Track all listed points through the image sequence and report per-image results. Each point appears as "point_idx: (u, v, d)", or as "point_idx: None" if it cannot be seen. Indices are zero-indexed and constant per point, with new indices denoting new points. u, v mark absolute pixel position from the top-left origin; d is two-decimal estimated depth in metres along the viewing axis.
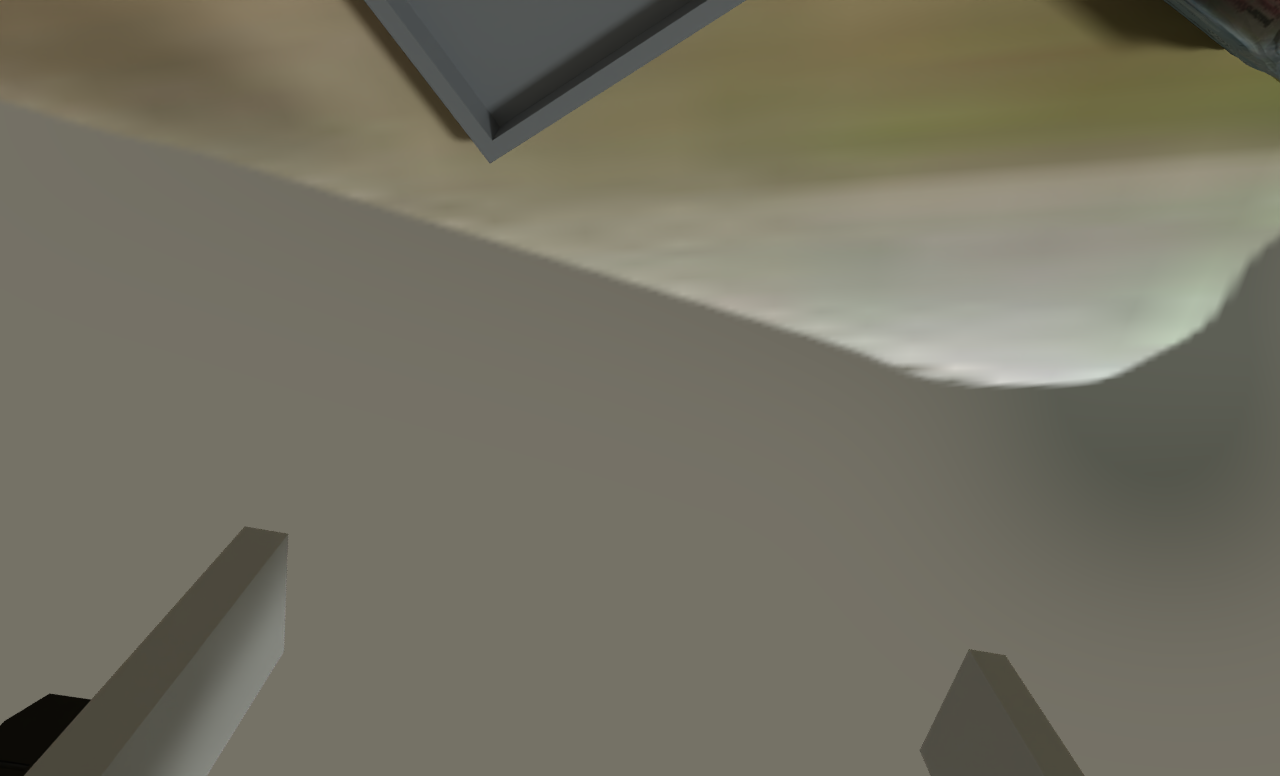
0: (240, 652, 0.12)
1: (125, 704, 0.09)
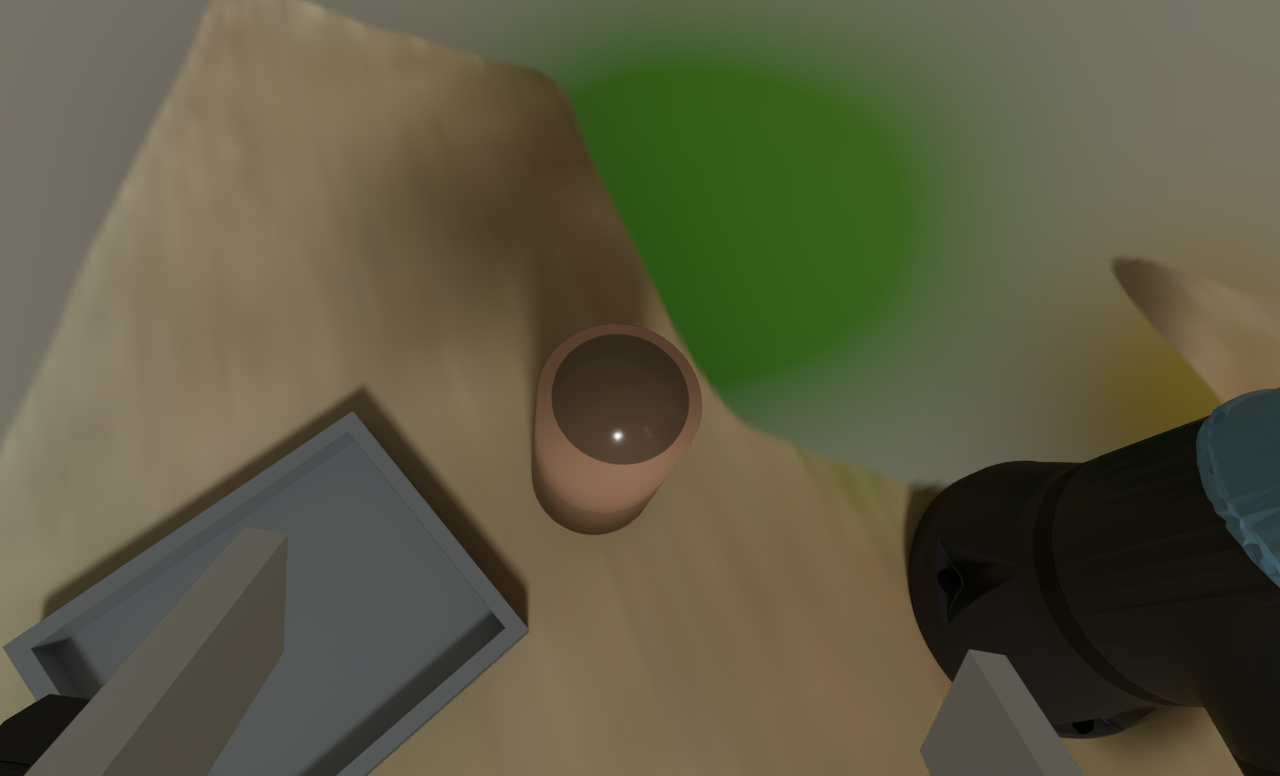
0: (240, 652, 0.12)
1: (125, 704, 0.09)
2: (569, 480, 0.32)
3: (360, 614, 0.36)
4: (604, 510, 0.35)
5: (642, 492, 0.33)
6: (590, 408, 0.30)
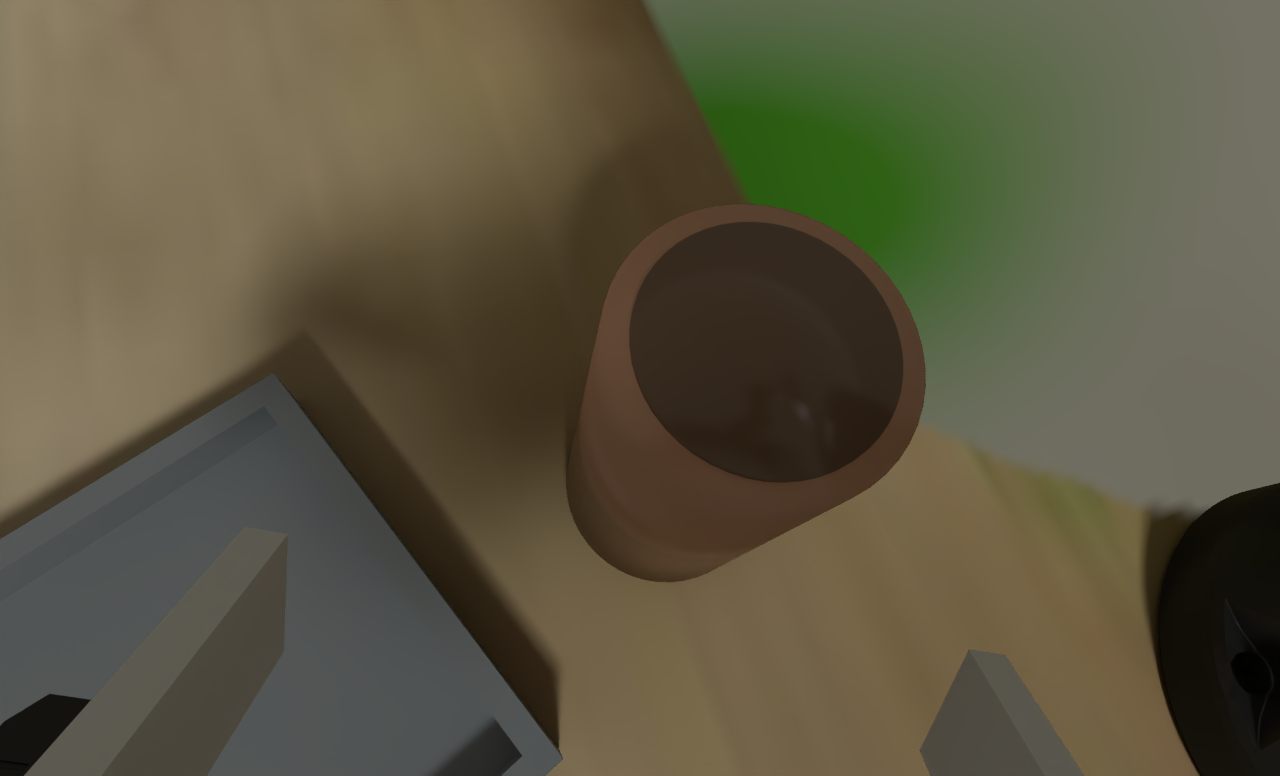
0: (240, 652, 0.12)
1: (125, 704, 0.09)
2: (654, 507, 0.16)
3: (273, 720, 0.21)
4: (704, 556, 0.19)
5: (788, 530, 0.17)
6: (709, 364, 0.15)
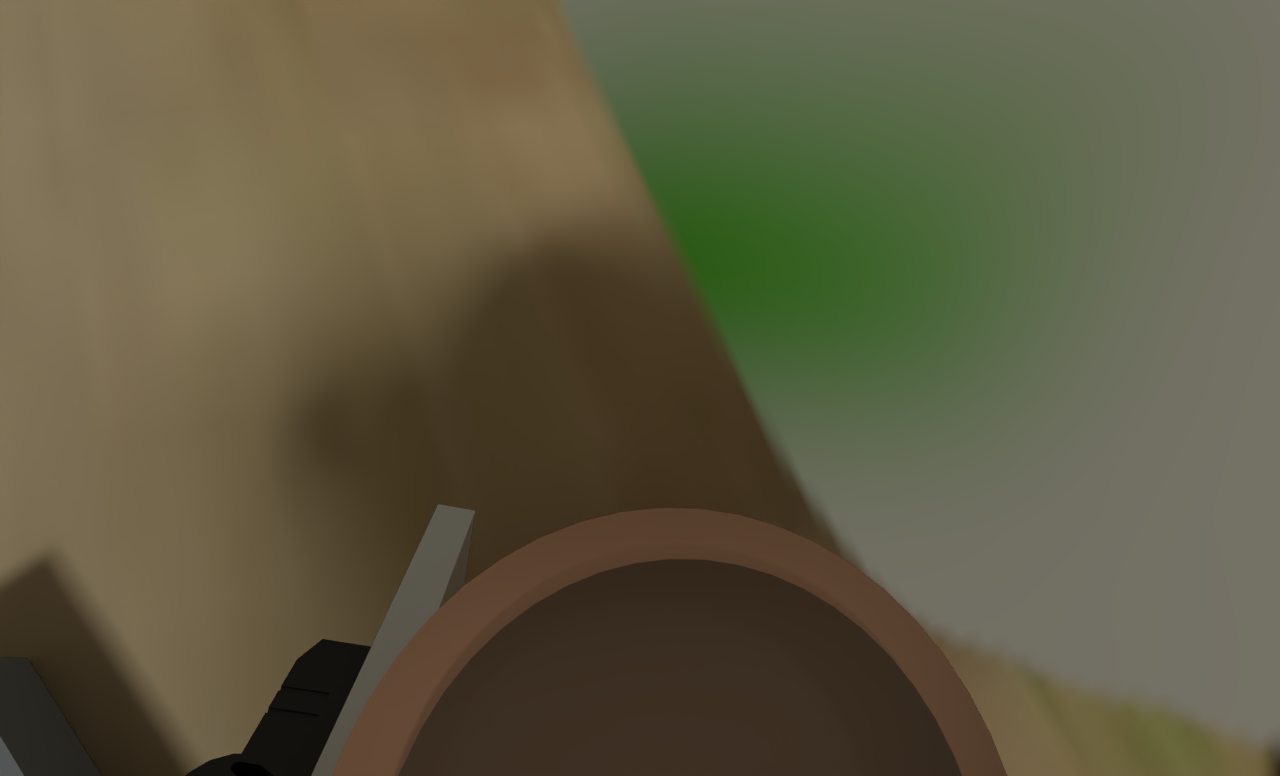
0: None
1: (401, 645, 0.11)
2: None
3: None
4: None
5: None
6: None
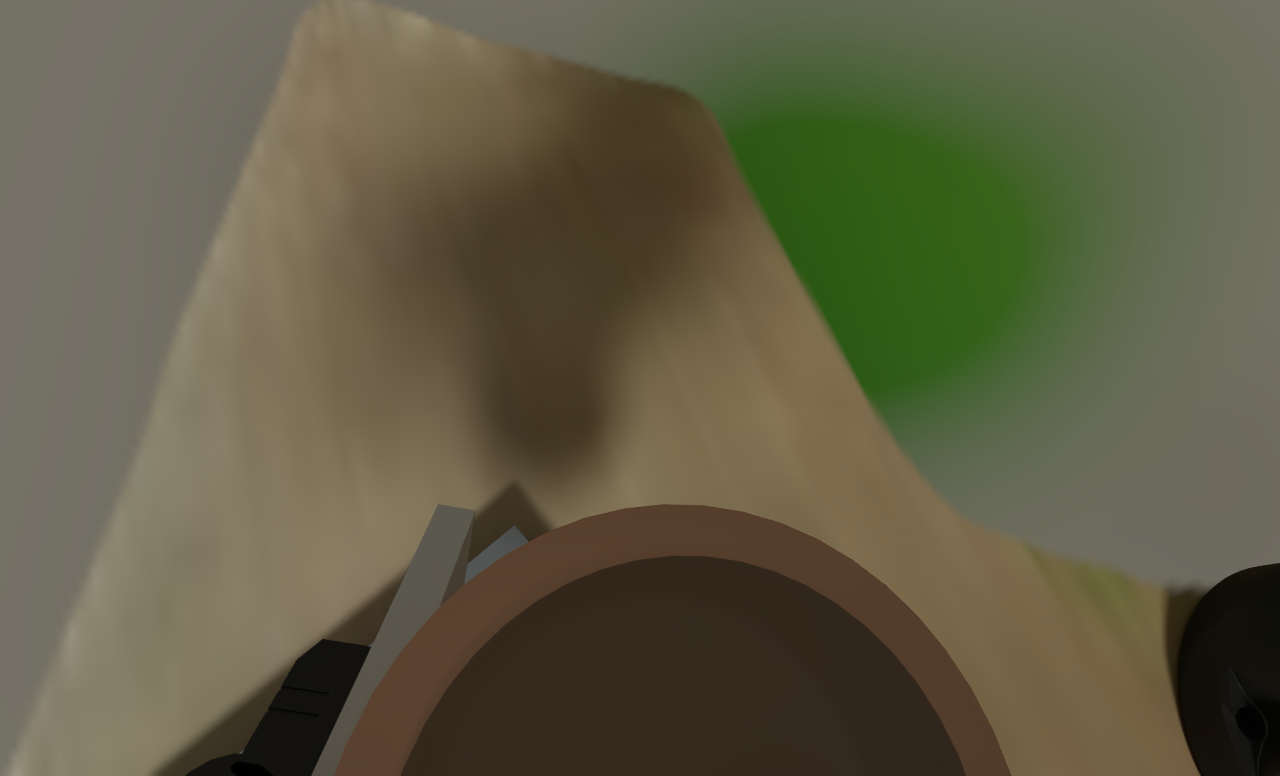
0: None
1: (401, 645, 0.11)
2: None
3: None
4: None
5: None
6: None
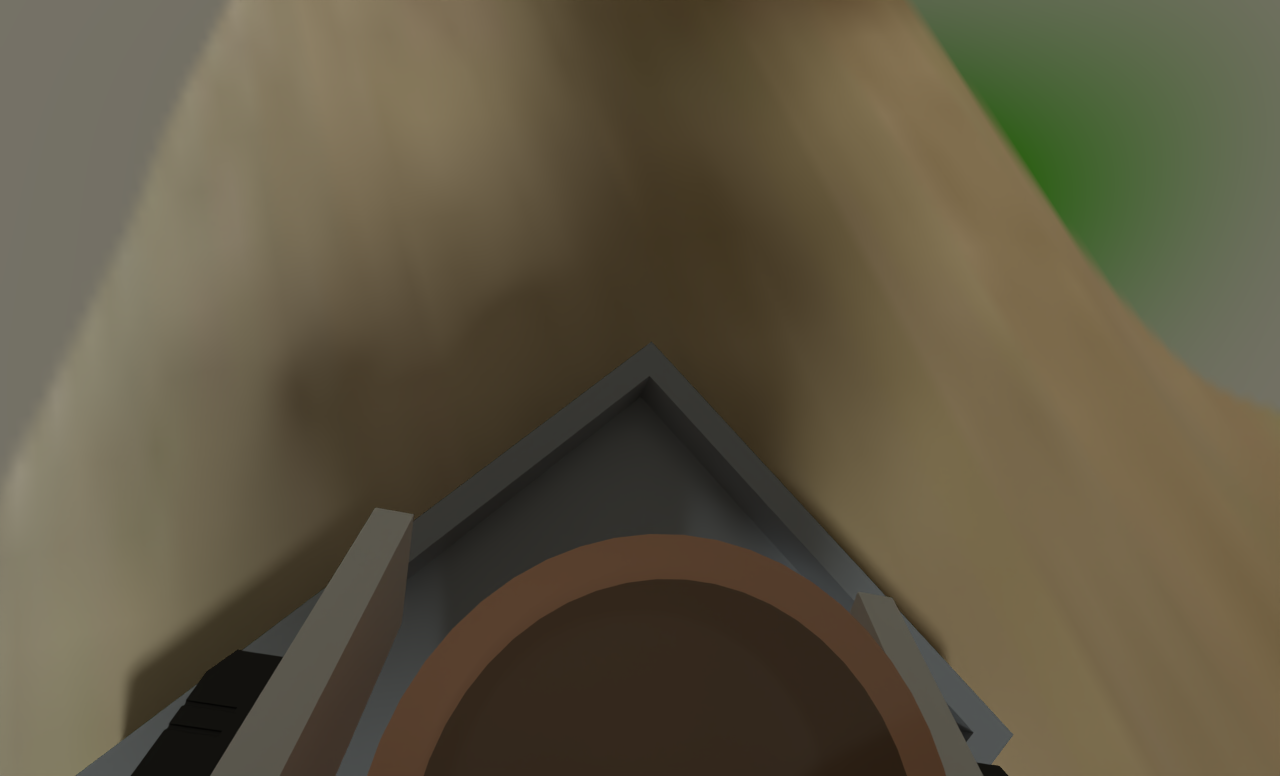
0: (381, 619, 0.13)
1: (314, 656, 0.11)
2: None
3: None
4: None
5: None
6: None
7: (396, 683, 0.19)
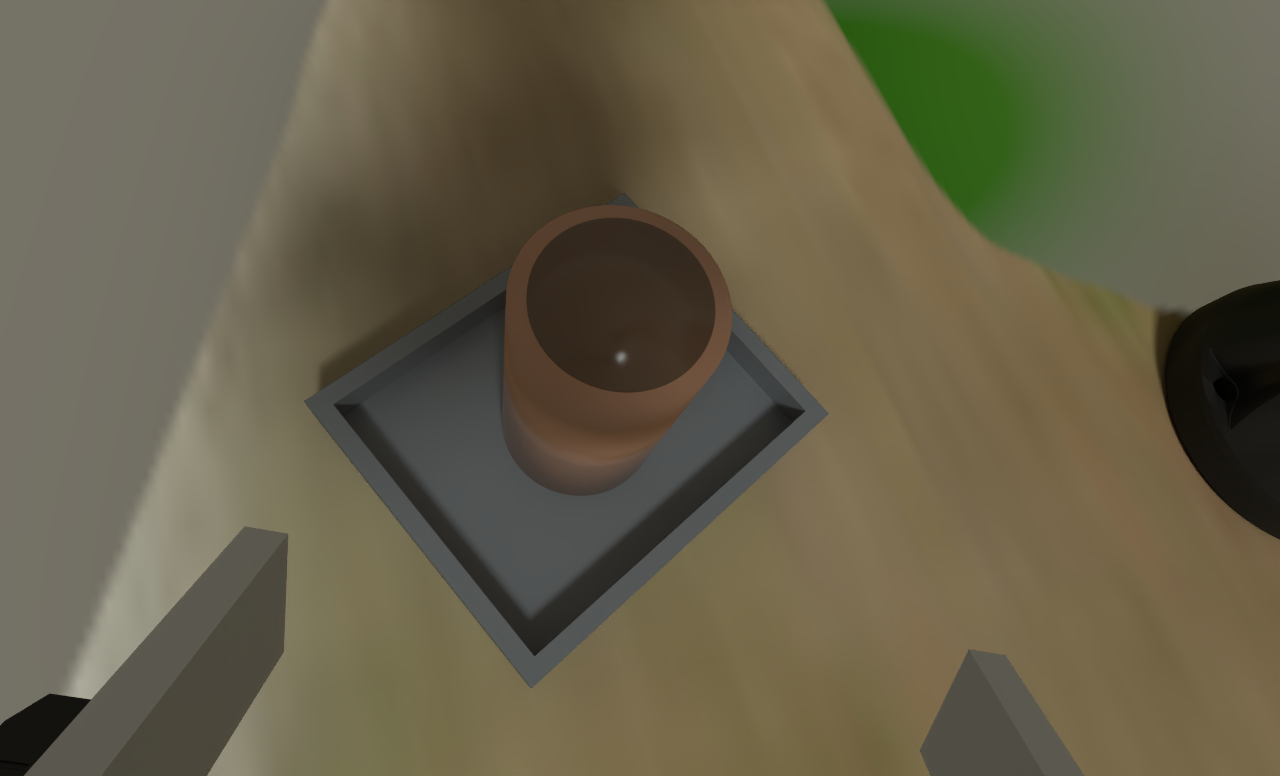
0: (240, 652, 0.12)
1: (125, 704, 0.09)
2: (549, 417, 0.23)
3: None
4: (595, 461, 0.26)
5: (647, 436, 0.24)
6: (580, 314, 0.22)
7: (473, 378, 0.33)
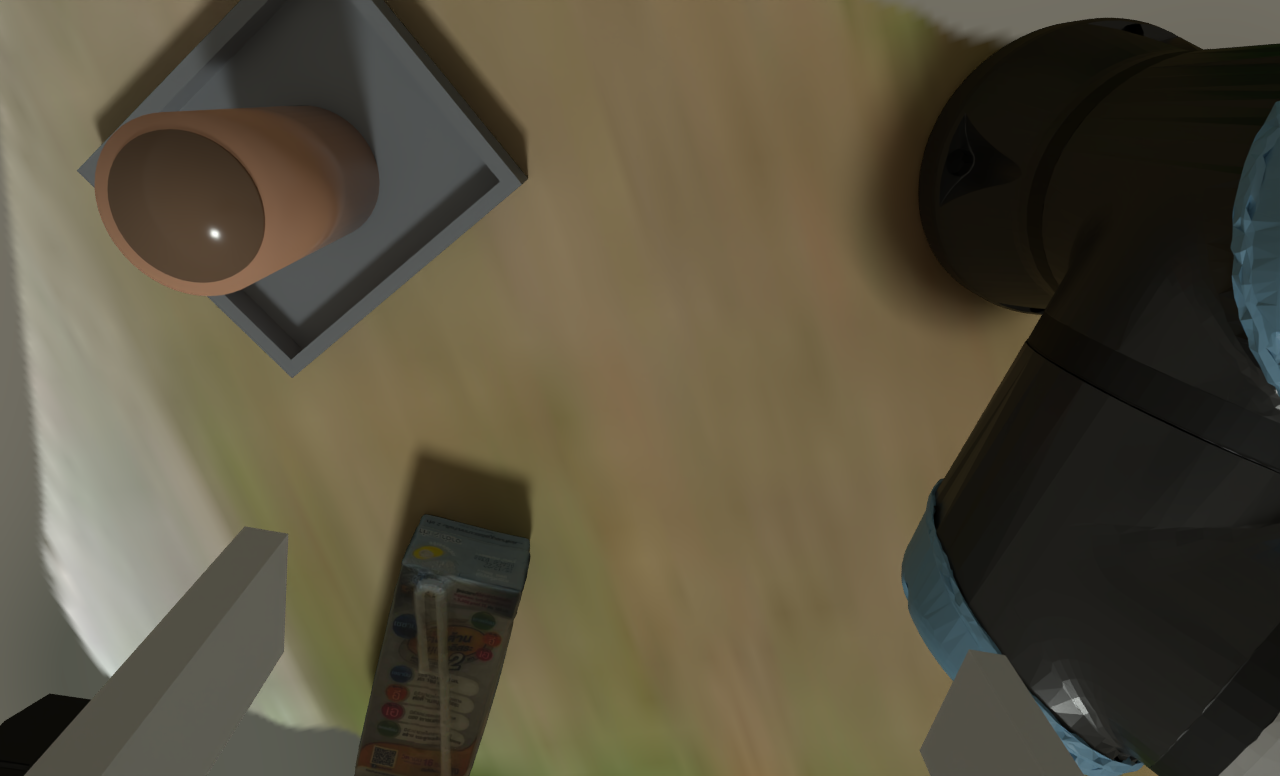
0: (240, 652, 0.12)
1: (125, 704, 0.09)
2: None
3: None
4: None
5: None
6: (154, 222, 0.28)
7: None
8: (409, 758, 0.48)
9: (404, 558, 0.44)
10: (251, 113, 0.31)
